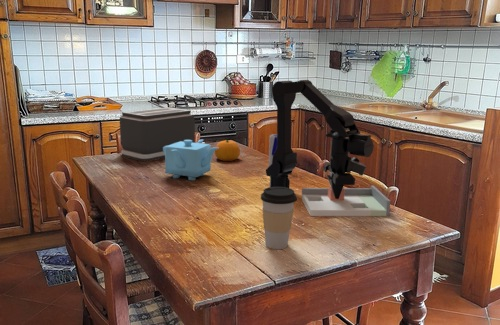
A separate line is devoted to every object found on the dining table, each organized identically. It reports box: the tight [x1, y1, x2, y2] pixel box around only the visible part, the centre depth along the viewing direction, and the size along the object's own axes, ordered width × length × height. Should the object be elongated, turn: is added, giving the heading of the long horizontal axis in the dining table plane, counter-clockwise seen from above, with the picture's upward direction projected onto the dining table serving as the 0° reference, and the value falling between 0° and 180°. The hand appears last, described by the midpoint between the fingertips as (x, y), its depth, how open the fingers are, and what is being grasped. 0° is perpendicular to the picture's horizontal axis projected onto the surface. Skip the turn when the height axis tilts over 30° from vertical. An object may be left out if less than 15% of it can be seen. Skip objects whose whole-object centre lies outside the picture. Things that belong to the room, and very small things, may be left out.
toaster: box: [119, 106, 196, 162], centre depth 229 cm, size 19×35×20 cm, turn 142°
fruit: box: [214, 138, 241, 162], centre depth 220 cm, size 12×12×10 cm
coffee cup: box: [260, 186, 298, 250], centre depth 125 cm, size 9×9×15 cm
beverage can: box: [268, 133, 277, 167], centre depth 203 cm, size 5×5×15 cm
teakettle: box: [163, 138, 218, 181], centre depth 189 cm, size 19×19×15 cm
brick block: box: [327, 185, 345, 200], centre depth 160 cm, size 4×4×4 cm
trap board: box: [301, 185, 391, 217], centre depth 157 cm, size 25×17×5 cm
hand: (336, 198), depth 156 cm, fingers closed
